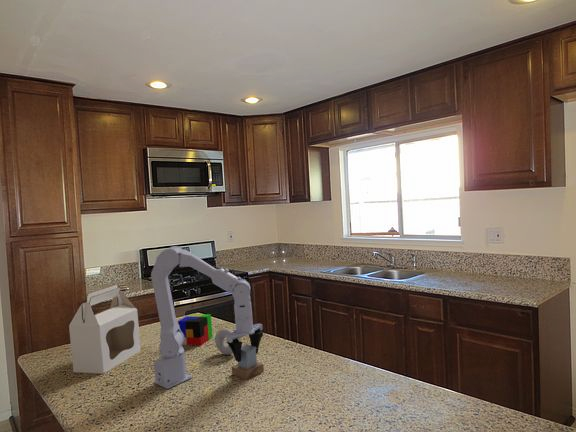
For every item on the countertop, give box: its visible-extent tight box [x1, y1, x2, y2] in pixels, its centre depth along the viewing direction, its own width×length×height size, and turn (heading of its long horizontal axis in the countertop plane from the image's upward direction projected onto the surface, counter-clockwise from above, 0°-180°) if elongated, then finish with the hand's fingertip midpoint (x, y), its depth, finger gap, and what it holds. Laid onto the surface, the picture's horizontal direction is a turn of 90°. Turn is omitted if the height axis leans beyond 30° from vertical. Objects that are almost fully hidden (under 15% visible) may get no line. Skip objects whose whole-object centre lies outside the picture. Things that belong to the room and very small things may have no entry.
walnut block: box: [231, 361, 265, 381], centre depth 135 cm, size 8×8×3 cm
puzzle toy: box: [177, 313, 213, 346], centre depth 170 cm, size 10×10×10 cm
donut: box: [214, 327, 234, 356], centre depth 152 cm, size 10×4×10 cm, turn 61°
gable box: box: [68, 284, 141, 375], centre depth 154 cm, size 22×13×28 cm, turn 165°
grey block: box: [237, 343, 258, 369], centre depth 134 cm, size 5×5×6 cm
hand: (246, 356), depth 134 cm, fingers open, 7 cm apart
